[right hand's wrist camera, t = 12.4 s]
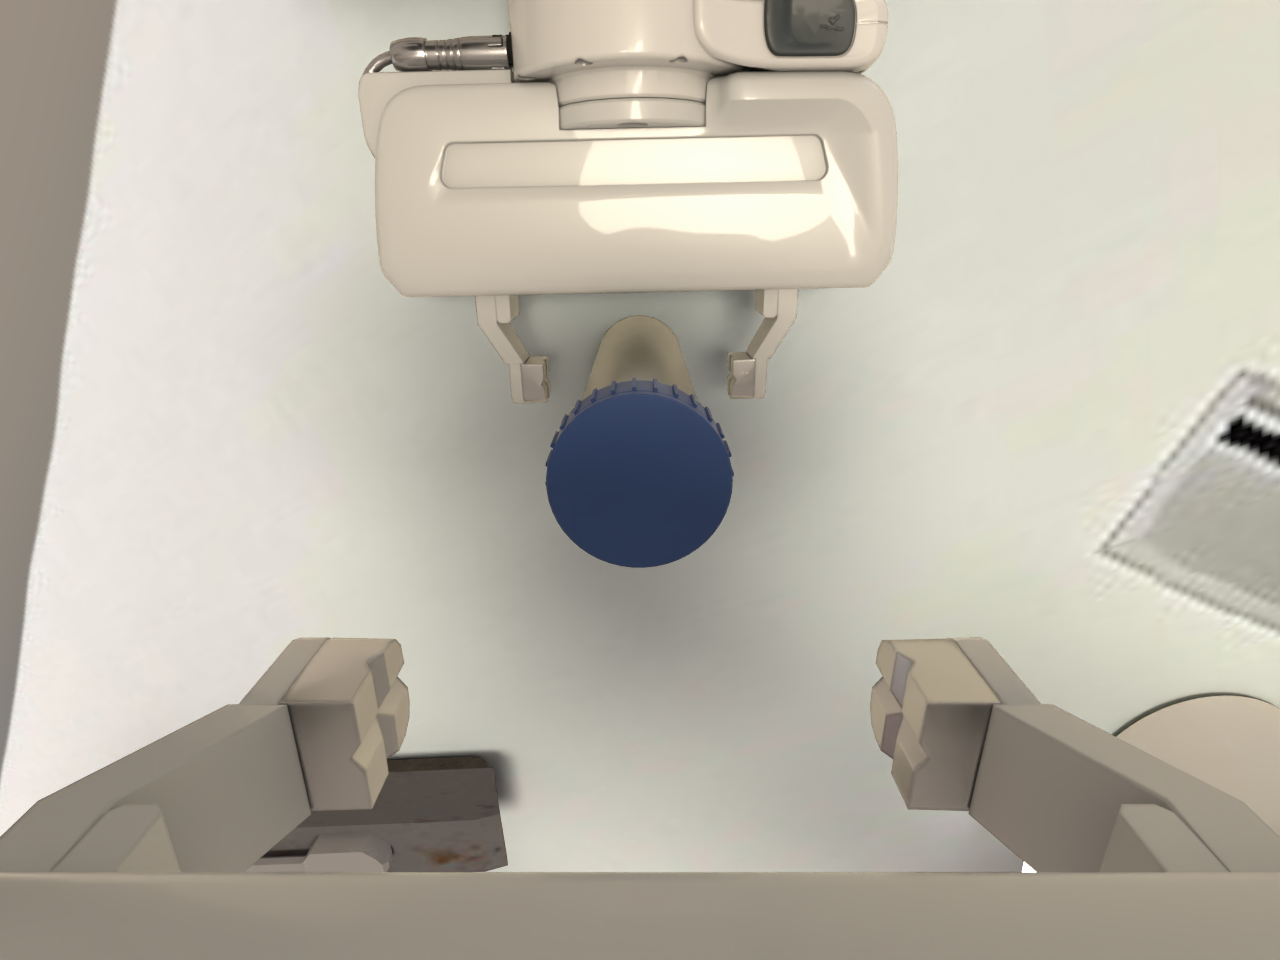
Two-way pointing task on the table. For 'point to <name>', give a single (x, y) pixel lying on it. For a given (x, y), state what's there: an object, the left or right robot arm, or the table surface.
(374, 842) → the toy
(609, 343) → the tan tube
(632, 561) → the lid
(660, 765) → the table surface
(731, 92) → the left robot arm
